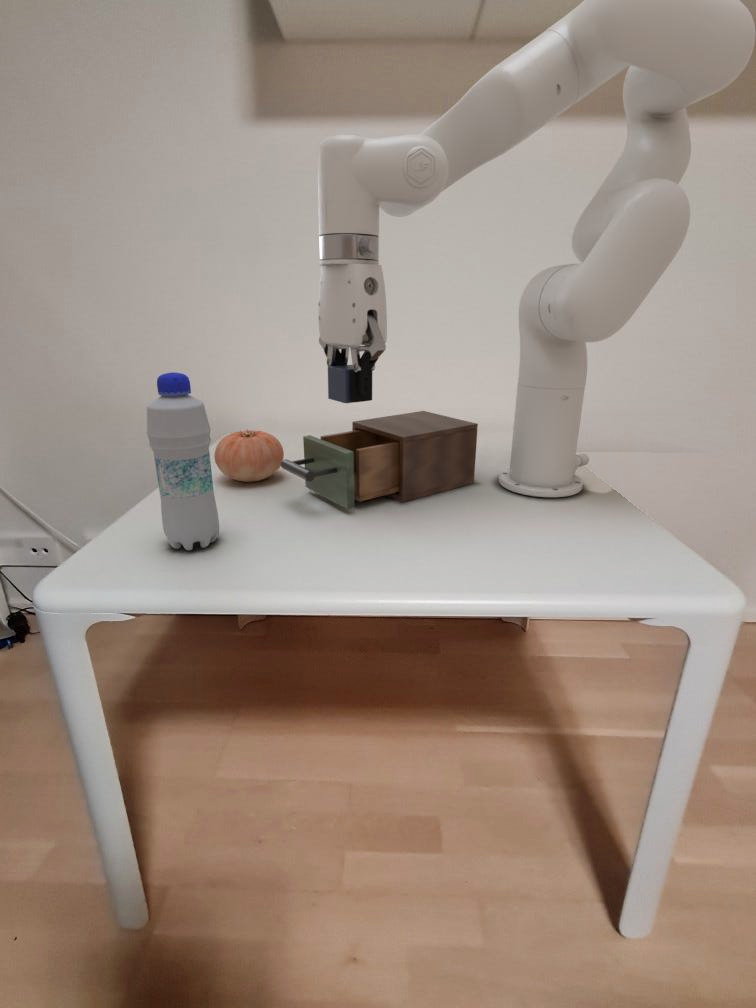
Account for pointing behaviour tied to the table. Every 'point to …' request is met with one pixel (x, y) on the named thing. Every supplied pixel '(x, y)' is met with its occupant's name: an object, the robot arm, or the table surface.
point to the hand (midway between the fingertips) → (350, 397)
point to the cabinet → (428, 451)
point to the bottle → (182, 463)
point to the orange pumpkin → (249, 455)
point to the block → (339, 383)
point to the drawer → (349, 466)
